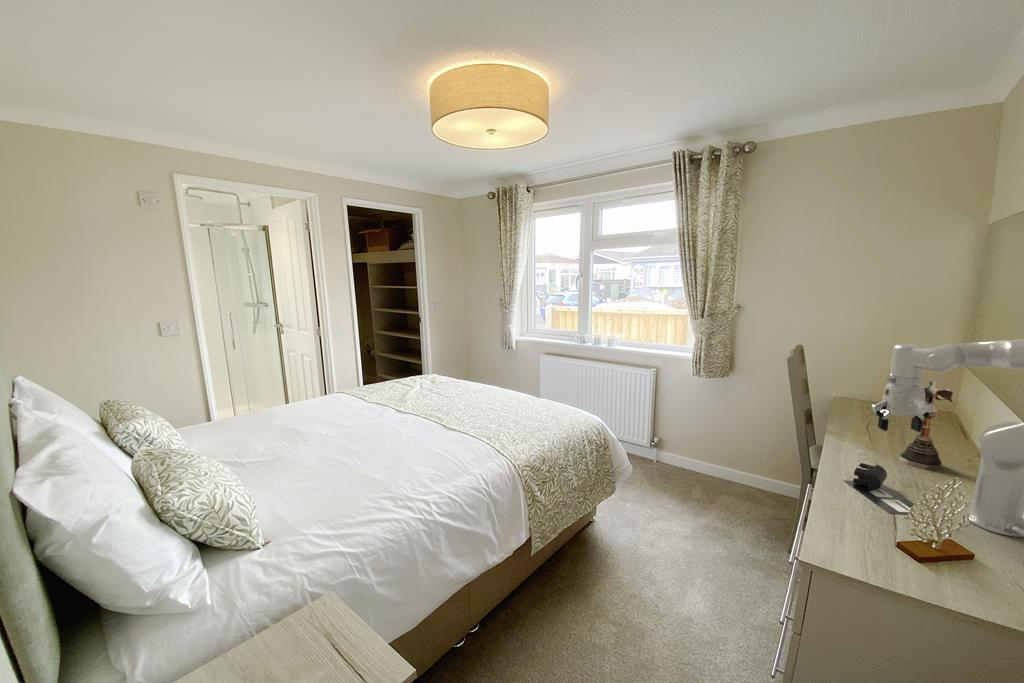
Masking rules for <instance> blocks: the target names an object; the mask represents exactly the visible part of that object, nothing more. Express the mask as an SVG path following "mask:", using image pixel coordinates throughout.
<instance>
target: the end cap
mask: <svg viewBox="0 0 1024 683" xmlns="http://www.w3.org/2000/svg"><path fill="white" fill-rule="evenodd" d="M853 476H857V478H855V477H853V479H852V481H853V482H854V484H853V486H854V487H857V488H860V489H863V490H866V491H873V490H877V489H879V488H880V486H881V485H882V484H884V482H885V481H886V479H887V478H888V472H887V471H886V469H885V468H884V467H882V466H881V465H879V464H876V465H875V466H874V465H871V464H867V463H863V462H860V463H859V465H858V467H856V468H855V469H854V473H853Z"/></svg>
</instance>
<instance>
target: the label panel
mask: <svg viewBox="0 0 1024 683" xmlns="http://www.w3.org/2000/svg"><path fill="white" fill-rule="evenodd" d="M843 482H844V483H846V484H847V485H849V486H851V488H853V489H854V490H856V491H857V492H858V493H860V494H862V496H864V497H866V498H867V499H868V500H869V501H871V502H873V504H876V506H878V507H879V508H881V509H882V510H884V511H885V512H886V513H887V514H890V515H891V514H892V515H893V514H894V515H909V514H908V513H909V512H899V511H897V510H896V509H894V508H893V507H891V506H890V505H888V504H887V503H885V502H884V501H882V500H881V499H888V500H898V501H900V502H902V503H903V504H905V505H906V506H908V507H909V508H911V507H912V506H913V505H914V504H915V503H914V502H912V501H911V500H909V499H908V498H906V497H904V496H903V495H902V494H900V493H898V492H897V491H895V490H894V489H891V488H890V487H888V486H887V485H885V484H884V483H882V485H881V486H880V489H882V490H883V491H885V492H886V493H888V494H889V495H891V496H892V497H894V498H891V497H877V496H875V495H874V494H872V493H871V492H869V491H866V490H863V489H860V488H857V487H854V486H853V484H854V482H853V480H843Z"/></svg>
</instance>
